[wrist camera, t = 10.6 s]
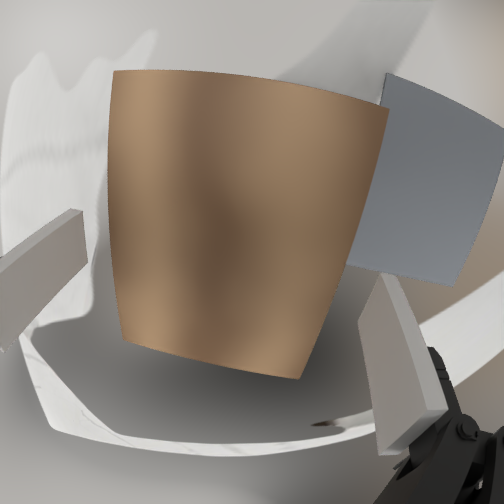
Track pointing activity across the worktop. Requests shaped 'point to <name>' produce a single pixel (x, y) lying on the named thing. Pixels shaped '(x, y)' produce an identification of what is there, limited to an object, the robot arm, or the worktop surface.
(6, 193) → the worktop surface
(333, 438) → the worktop surface
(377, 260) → the mat
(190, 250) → the board
